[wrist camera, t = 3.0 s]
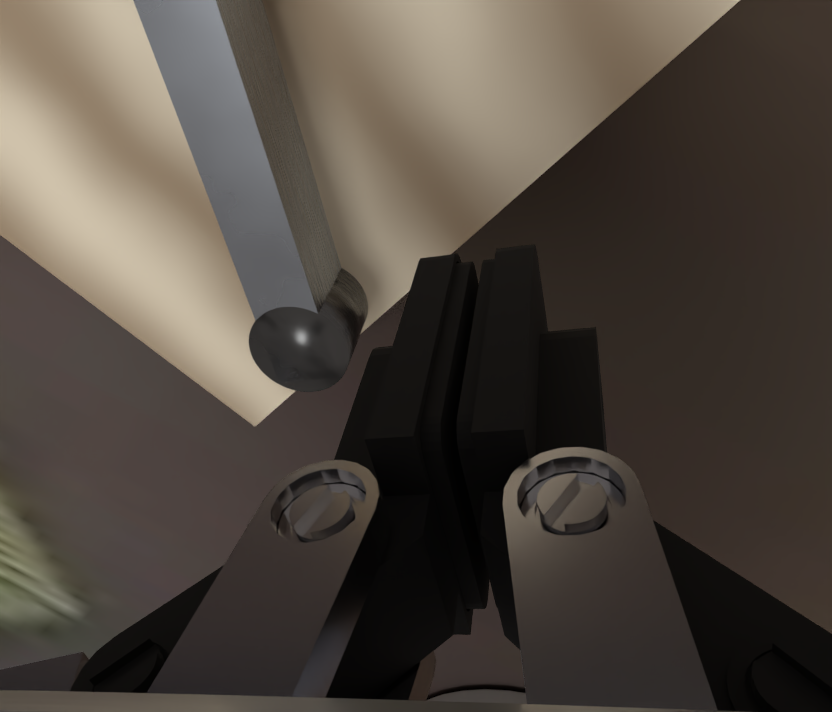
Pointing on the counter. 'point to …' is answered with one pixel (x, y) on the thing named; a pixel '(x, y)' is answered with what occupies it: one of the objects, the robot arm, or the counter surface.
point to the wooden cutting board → (324, 139)
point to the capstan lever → (259, 184)
